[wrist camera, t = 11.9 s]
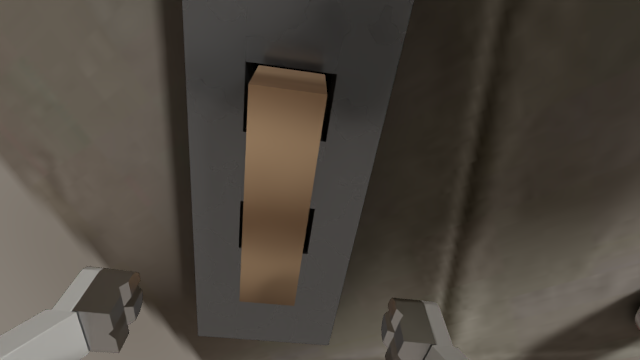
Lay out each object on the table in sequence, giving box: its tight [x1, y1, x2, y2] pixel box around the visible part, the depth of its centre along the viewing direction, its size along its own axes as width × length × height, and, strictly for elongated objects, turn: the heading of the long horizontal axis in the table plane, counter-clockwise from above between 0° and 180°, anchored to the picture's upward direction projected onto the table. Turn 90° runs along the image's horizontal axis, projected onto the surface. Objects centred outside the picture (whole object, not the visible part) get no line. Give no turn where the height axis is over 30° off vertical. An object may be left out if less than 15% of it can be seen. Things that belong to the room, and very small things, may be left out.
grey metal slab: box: [182, 0, 414, 345], centre depth 21 cm, size 30×10×3 cm, turn 172°
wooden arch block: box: [239, 65, 327, 306], centre depth 20 cm, size 12×3×7 cm, turn 172°
